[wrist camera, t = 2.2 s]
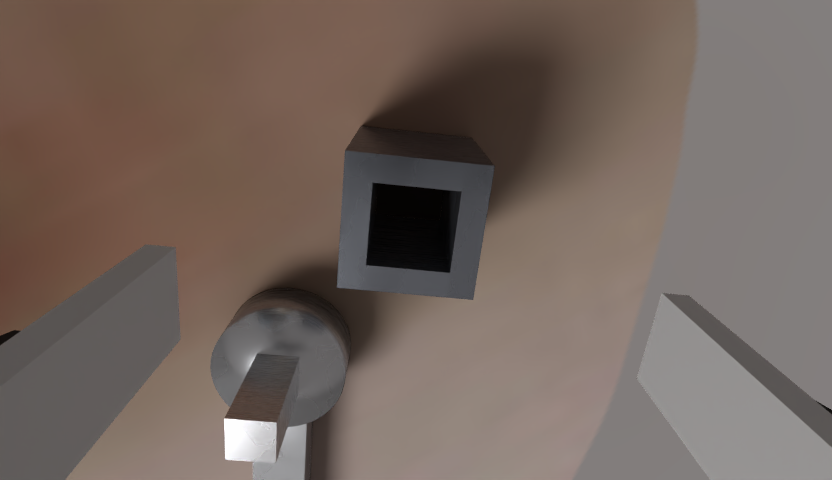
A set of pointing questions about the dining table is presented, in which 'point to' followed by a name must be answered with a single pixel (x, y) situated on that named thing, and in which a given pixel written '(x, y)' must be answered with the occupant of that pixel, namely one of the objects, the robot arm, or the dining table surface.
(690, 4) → the dining table surface
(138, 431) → the dining table surface
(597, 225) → the dining table surface
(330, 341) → the ratchet
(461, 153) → the socket
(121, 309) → the robot arm
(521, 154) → the dining table surface
